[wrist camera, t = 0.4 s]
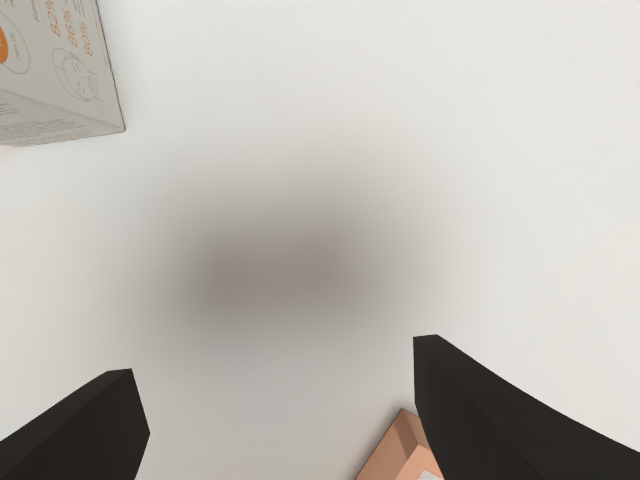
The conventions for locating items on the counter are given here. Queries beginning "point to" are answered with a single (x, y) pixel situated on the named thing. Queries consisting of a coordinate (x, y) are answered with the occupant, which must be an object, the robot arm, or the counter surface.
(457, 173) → the counter surface
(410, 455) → the terracotta bay
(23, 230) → the counter surface
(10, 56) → the small box
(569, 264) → the counter surface
